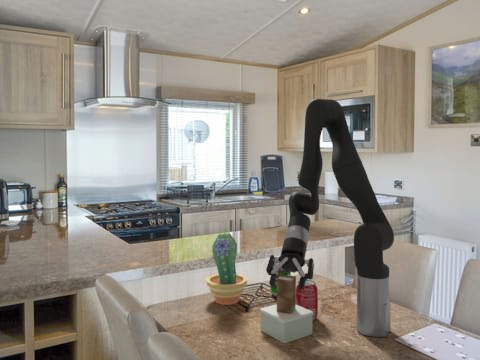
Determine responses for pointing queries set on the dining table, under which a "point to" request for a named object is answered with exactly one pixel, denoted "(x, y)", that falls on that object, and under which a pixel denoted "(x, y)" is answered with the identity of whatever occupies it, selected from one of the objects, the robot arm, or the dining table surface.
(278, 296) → the walnut block
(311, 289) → the soda can
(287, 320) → the storage box
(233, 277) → the potted cactus
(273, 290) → the soda can
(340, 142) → the robot arm
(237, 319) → the dining table surface
